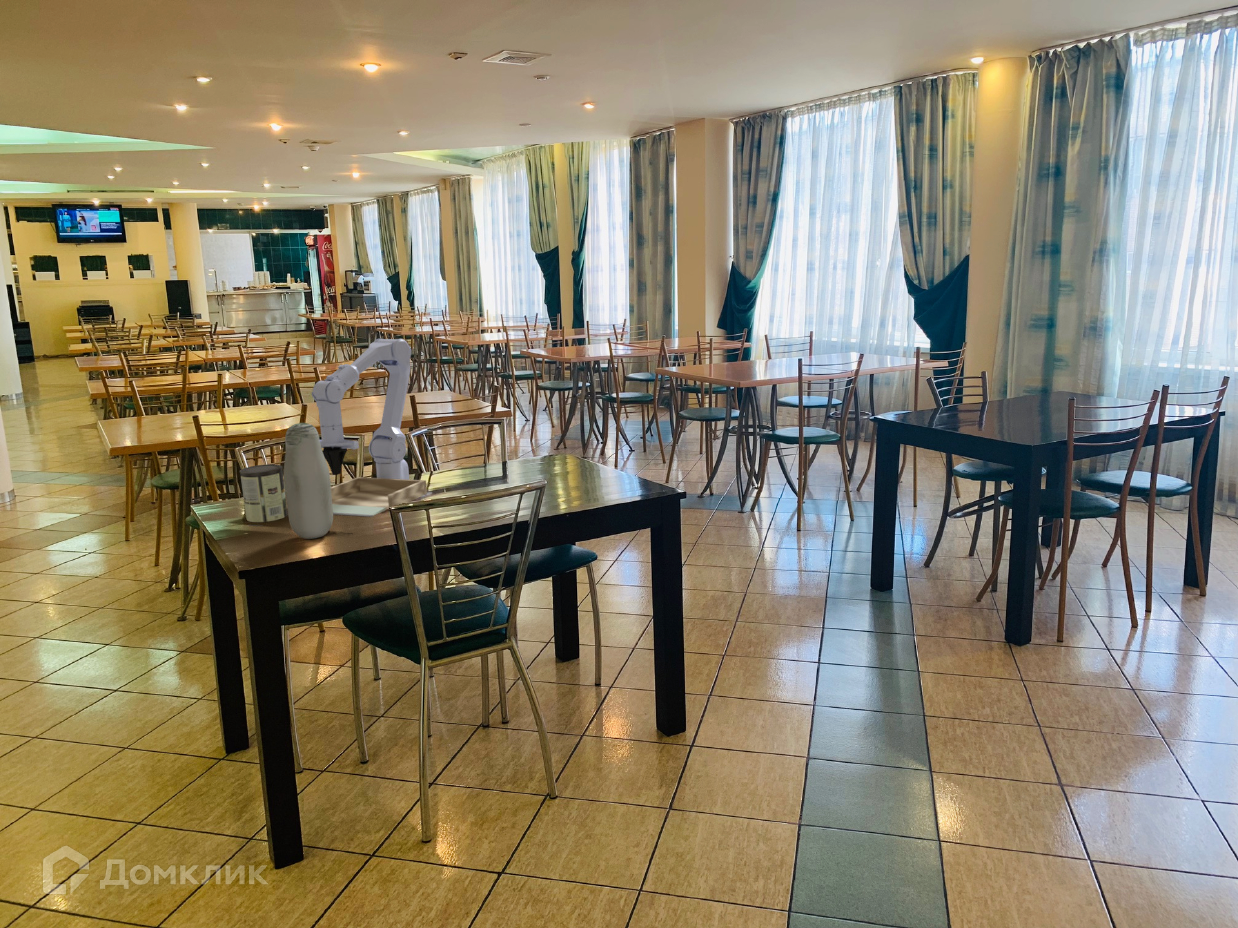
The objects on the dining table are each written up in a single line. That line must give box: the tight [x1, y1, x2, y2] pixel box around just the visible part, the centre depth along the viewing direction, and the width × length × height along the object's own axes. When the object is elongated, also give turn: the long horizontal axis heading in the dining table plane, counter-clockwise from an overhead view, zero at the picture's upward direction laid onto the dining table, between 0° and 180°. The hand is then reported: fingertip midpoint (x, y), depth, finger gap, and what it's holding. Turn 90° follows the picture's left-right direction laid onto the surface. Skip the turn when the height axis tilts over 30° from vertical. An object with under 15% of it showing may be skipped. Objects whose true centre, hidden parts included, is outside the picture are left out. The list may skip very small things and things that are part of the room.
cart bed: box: [331, 476, 428, 510], centre depth 246 cm, size 17×22×5 cm
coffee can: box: [239, 463, 288, 527], centre depth 230 cm, size 10×10×14 cm
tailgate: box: [332, 504, 387, 518], centre depth 234 cm, size 1×19×7 cm
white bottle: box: [283, 422, 334, 540], centre depth 212 cm, size 10×10×28 cm
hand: (336, 474), depth 243 cm, fingers closed
